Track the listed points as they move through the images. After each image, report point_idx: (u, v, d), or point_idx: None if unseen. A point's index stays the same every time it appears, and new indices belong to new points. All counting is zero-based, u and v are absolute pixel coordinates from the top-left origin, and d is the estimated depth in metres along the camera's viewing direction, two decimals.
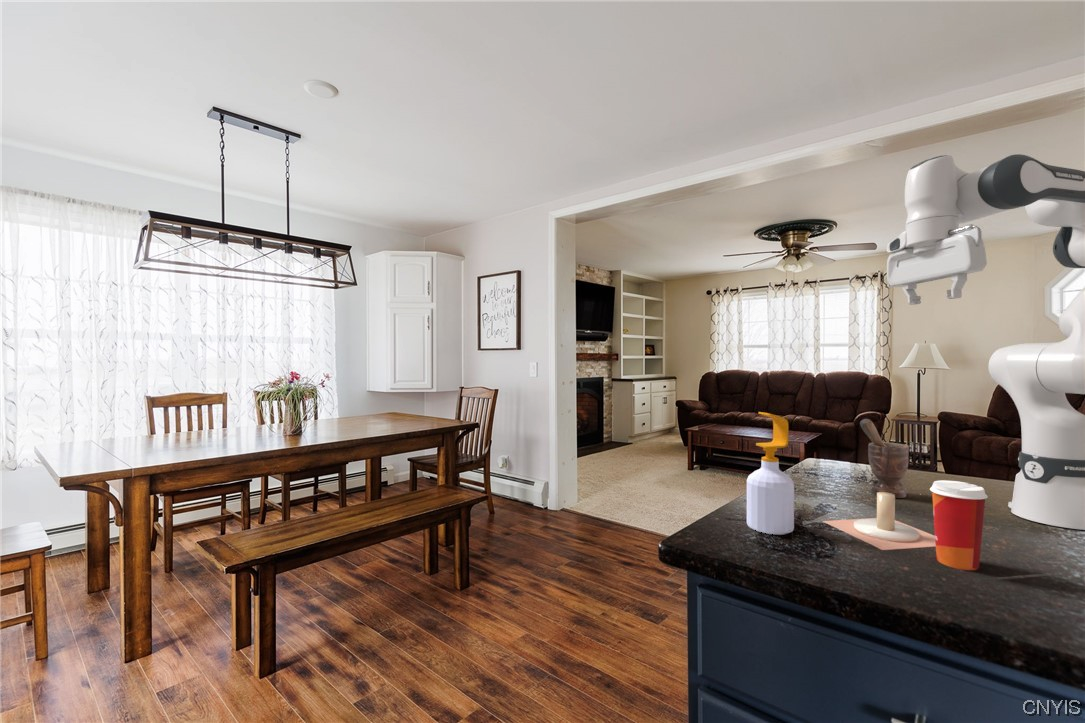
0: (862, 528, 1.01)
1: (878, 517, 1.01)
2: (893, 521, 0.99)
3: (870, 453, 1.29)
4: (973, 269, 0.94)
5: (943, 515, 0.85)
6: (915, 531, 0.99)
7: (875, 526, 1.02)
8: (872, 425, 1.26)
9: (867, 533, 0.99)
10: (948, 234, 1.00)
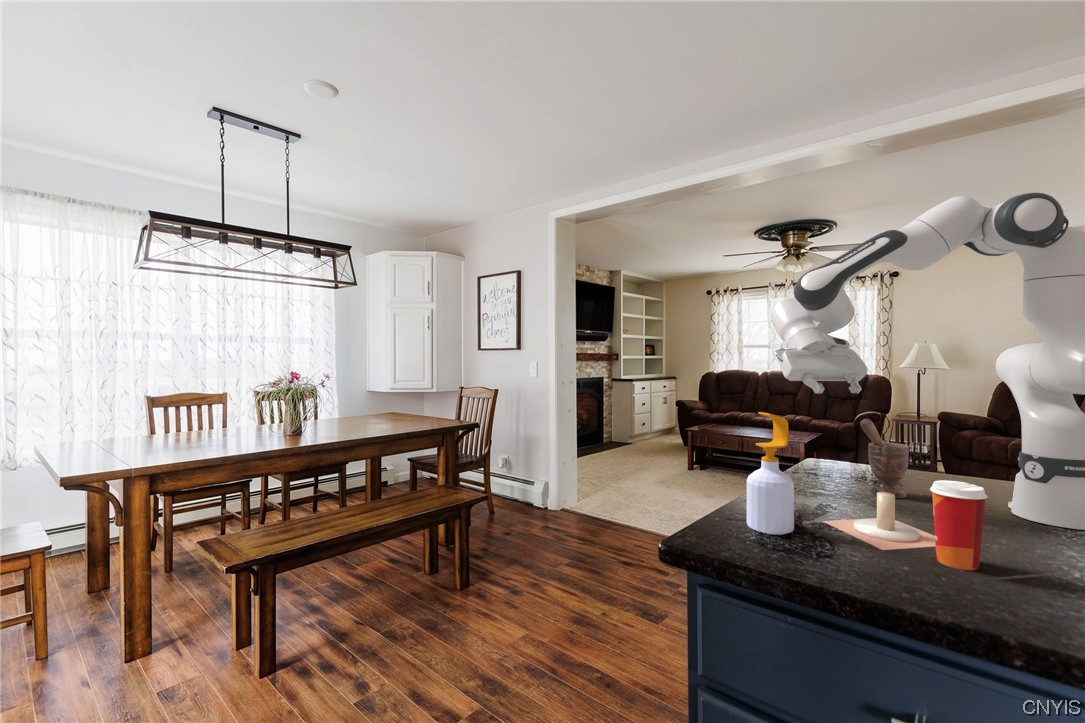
0: (862, 528, 1.01)
1: (878, 517, 1.01)
2: (893, 521, 0.99)
3: (870, 453, 1.29)
4: (789, 377, 1.16)
5: (943, 515, 0.85)
6: (915, 531, 0.99)
7: (875, 526, 1.02)
8: (872, 425, 1.26)
9: (867, 533, 0.99)
10: None
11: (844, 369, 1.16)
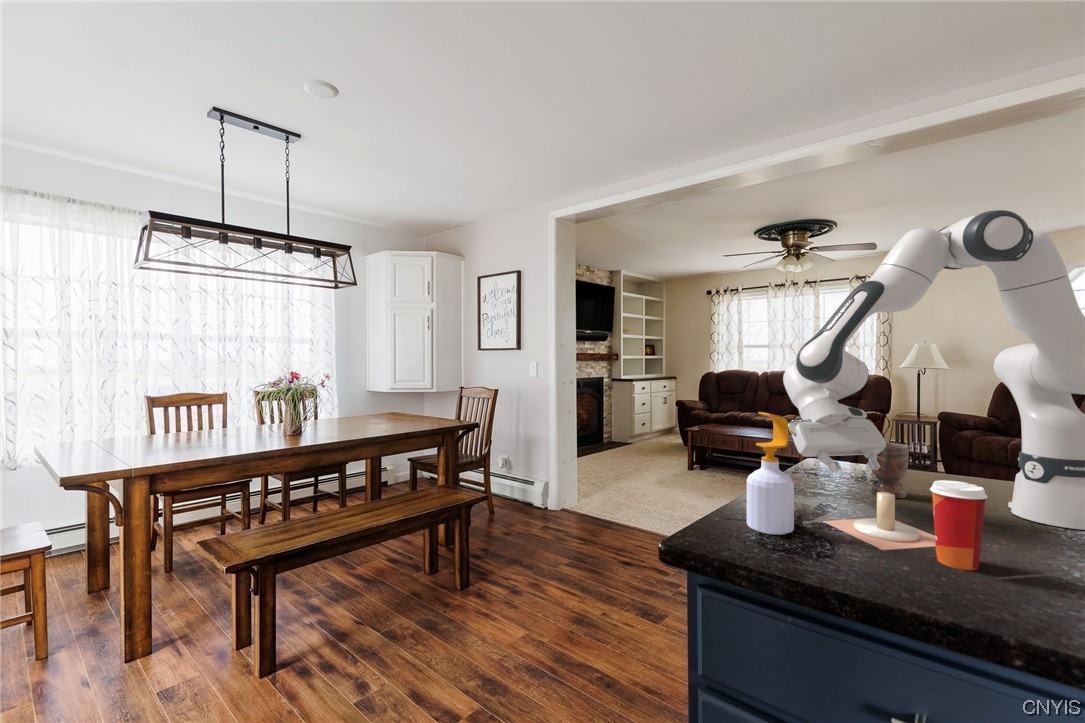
0: (862, 528, 1.01)
1: (878, 517, 1.01)
2: (893, 521, 0.99)
3: None
4: (804, 454, 1.11)
5: (943, 515, 0.85)
6: (915, 531, 0.99)
7: (875, 526, 1.02)
8: None
9: (867, 533, 0.99)
10: None
11: (861, 444, 1.11)
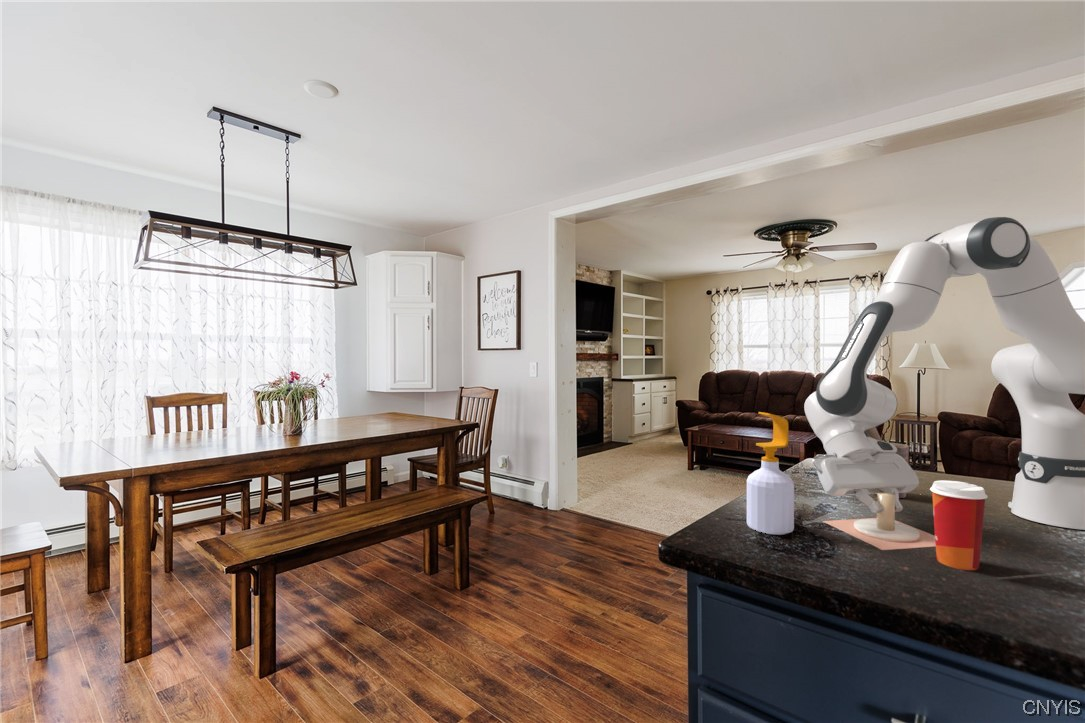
0: (862, 528, 1.01)
1: (878, 517, 1.01)
2: (893, 521, 0.99)
3: None
4: (831, 493, 1.03)
5: (943, 515, 0.85)
6: (915, 531, 0.99)
7: (875, 526, 1.02)
8: None
9: (868, 533, 0.99)
10: None
11: (892, 482, 1.03)
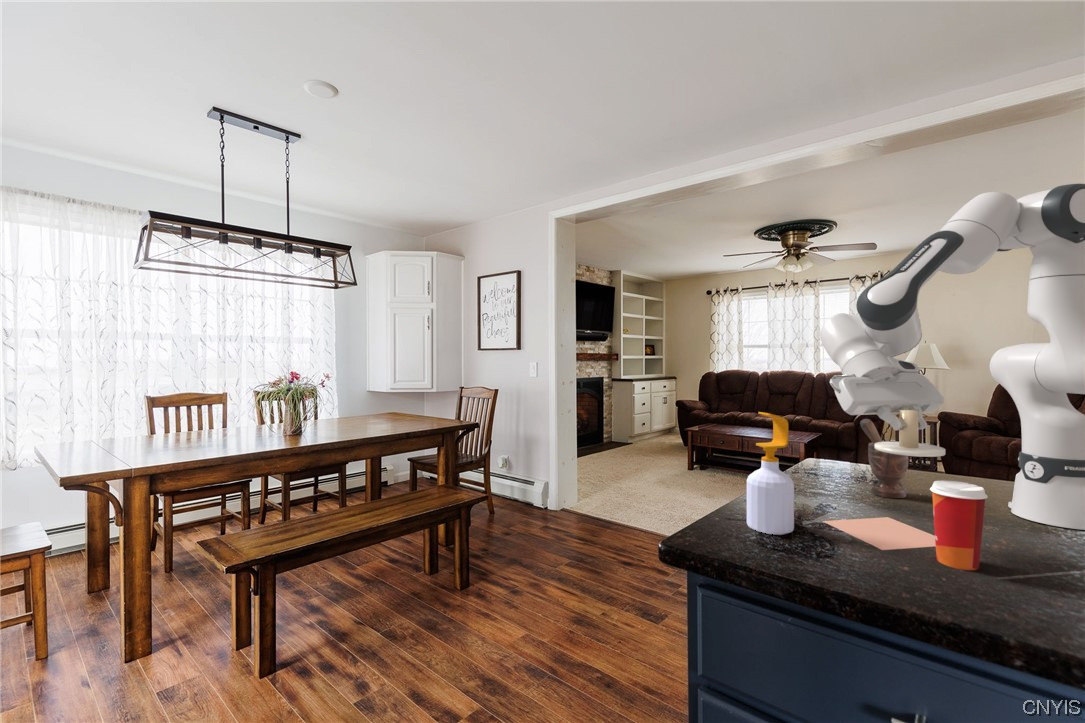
0: (884, 447, 0.95)
1: (901, 435, 0.95)
2: (917, 438, 0.94)
3: (870, 453, 1.29)
4: (850, 412, 0.97)
5: (943, 515, 0.85)
6: (940, 448, 0.94)
7: (897, 445, 0.96)
8: (872, 425, 1.26)
9: (890, 450, 0.93)
10: None
11: (915, 399, 0.97)
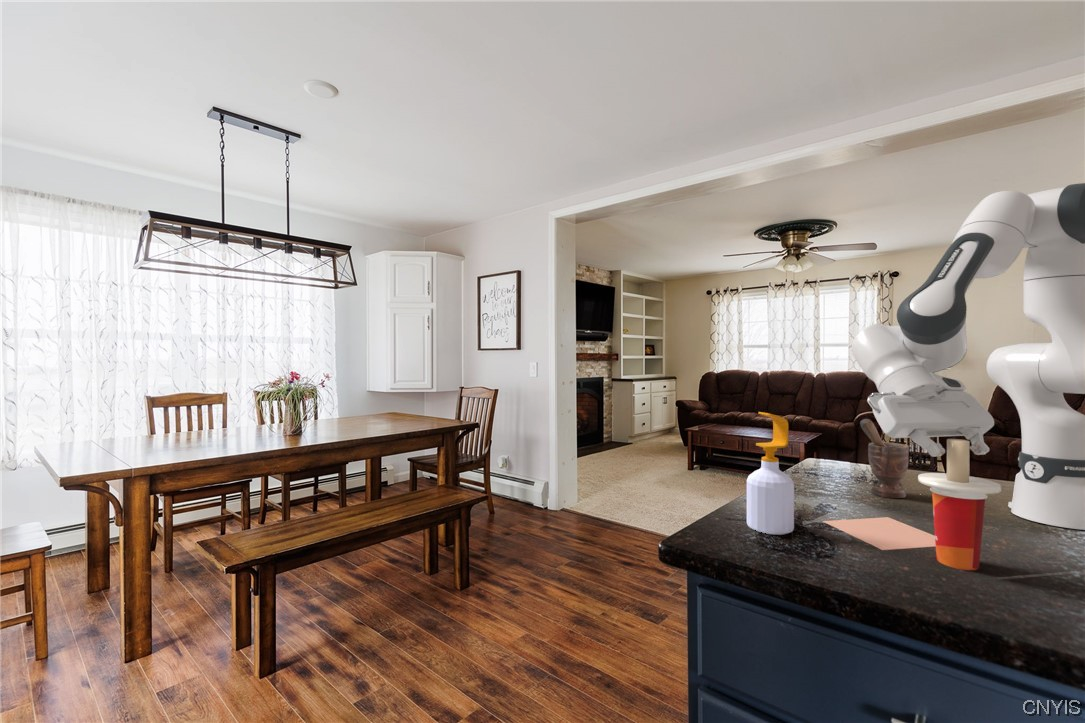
0: (931, 481, 0.86)
1: (949, 467, 0.86)
2: (968, 471, 0.84)
3: (870, 453, 1.29)
4: (892, 434, 0.88)
5: (943, 515, 0.85)
6: (994, 483, 0.84)
7: (945, 479, 0.87)
8: (872, 425, 1.26)
9: (938, 485, 0.84)
10: None
11: (964, 421, 0.88)
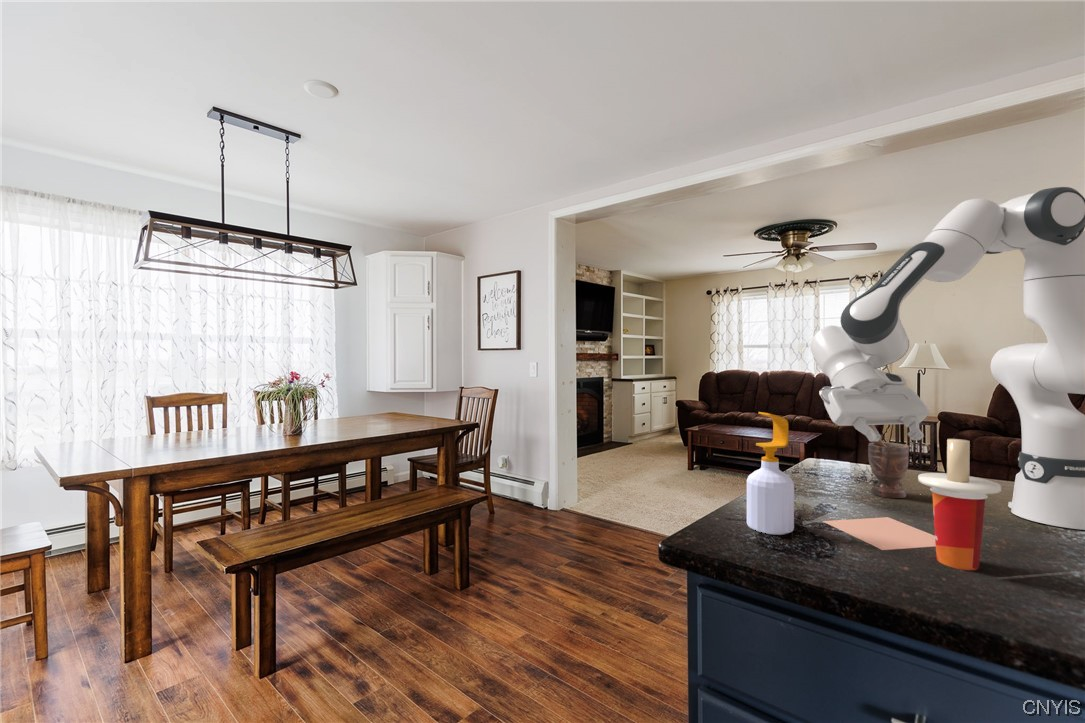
0: (931, 480, 0.86)
1: (949, 467, 0.86)
2: (968, 471, 0.84)
3: (870, 453, 1.29)
4: (839, 422, 1.00)
5: (943, 514, 0.85)
6: (994, 483, 0.84)
7: (945, 479, 0.87)
8: (872, 425, 1.26)
9: (939, 485, 0.84)
10: None
11: (901, 411, 1.01)
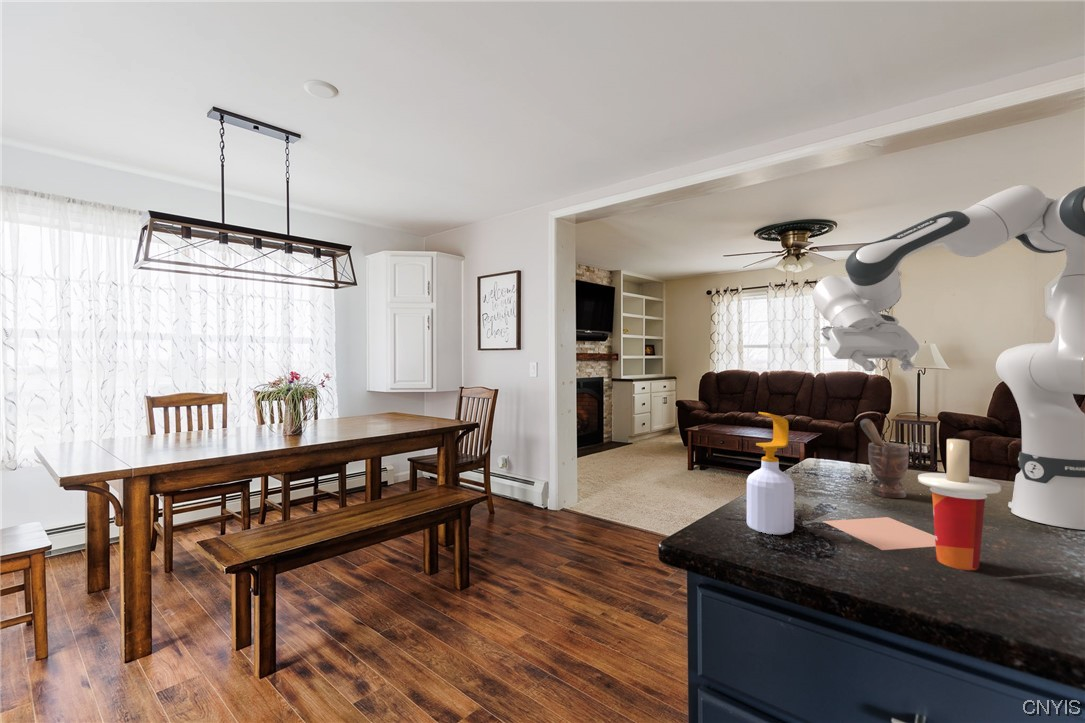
0: (931, 480, 0.86)
1: (949, 467, 0.86)
2: (968, 471, 0.84)
3: (870, 453, 1.29)
4: (838, 355, 1.11)
5: (943, 514, 0.85)
6: (994, 483, 0.84)
7: (945, 479, 0.87)
8: (872, 425, 1.26)
9: (938, 485, 0.84)
10: None
11: (894, 346, 1.12)
